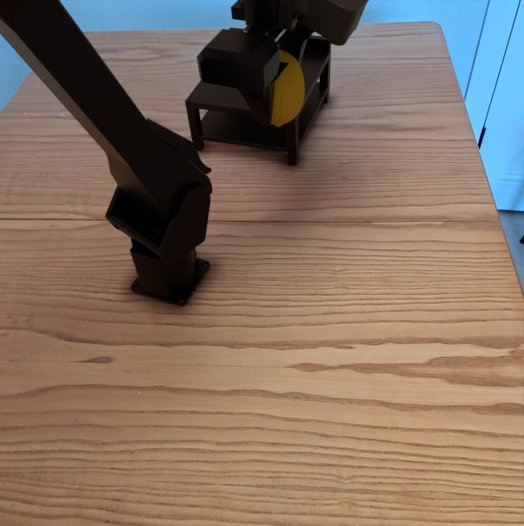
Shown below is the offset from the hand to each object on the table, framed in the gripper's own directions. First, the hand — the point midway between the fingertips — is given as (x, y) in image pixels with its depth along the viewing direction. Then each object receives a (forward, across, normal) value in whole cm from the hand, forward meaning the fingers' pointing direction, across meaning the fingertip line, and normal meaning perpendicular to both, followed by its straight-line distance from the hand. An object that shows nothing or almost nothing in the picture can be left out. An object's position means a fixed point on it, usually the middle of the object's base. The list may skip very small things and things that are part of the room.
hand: (277, 109), depth 59 cm
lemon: (+2, 0, 0) cm, 2 cm away
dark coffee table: (+11, +13, +8) cm, 19 cm away
